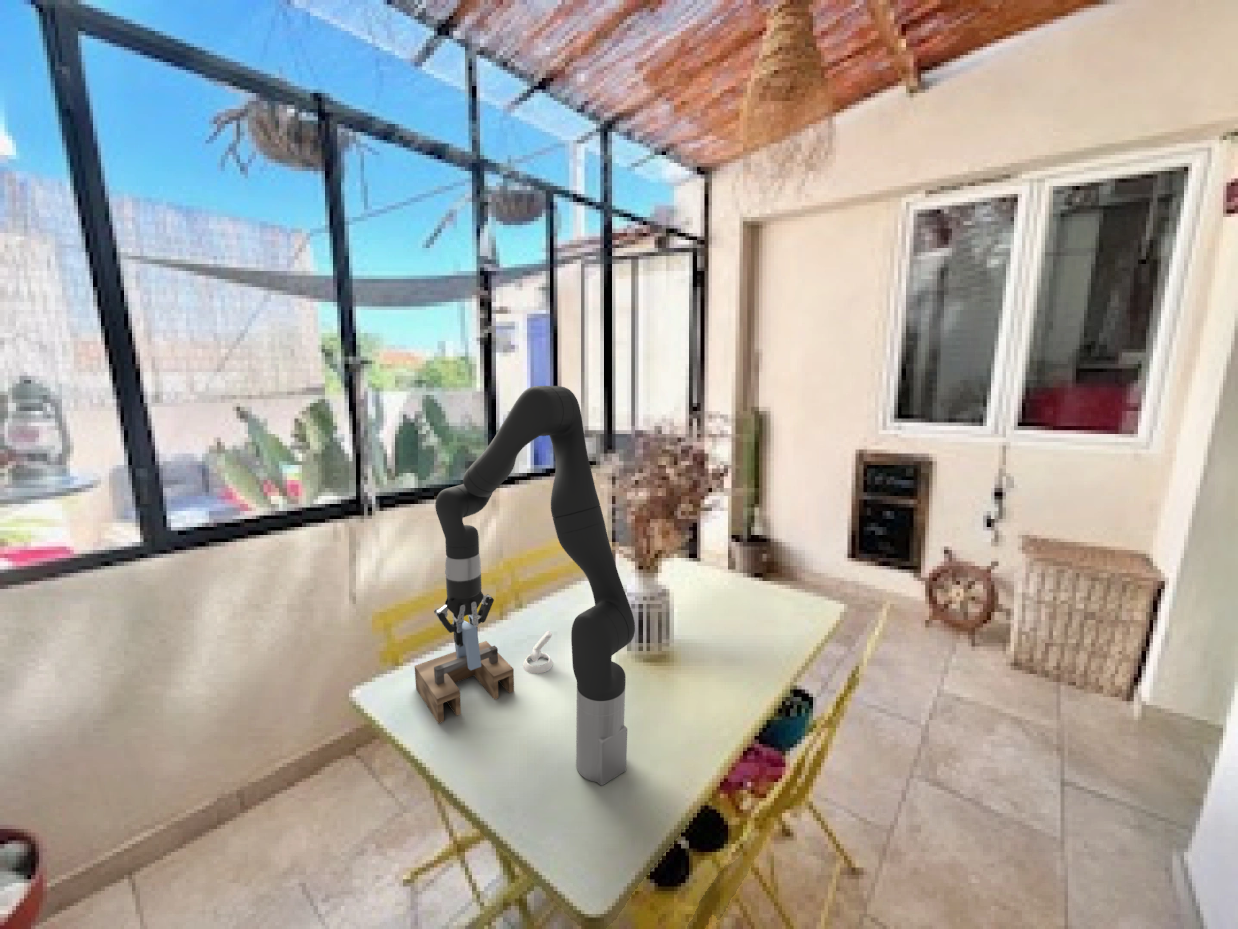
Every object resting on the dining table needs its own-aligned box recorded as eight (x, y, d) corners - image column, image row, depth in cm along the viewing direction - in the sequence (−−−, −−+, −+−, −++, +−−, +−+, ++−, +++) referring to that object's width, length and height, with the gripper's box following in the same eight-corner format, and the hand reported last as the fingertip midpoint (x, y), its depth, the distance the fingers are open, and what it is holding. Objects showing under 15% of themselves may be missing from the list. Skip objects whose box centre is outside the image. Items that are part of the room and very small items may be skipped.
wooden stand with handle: (513, 691, 120) (513, 655, 118) (438, 723, 109) (436, 684, 107) (486, 661, 131) (485, 628, 129) (416, 688, 120) (413, 652, 118)
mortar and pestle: (569, 656, 126) (546, 645, 123) (542, 686, 129) (519, 676, 127) (569, 635, 132) (547, 623, 130) (543, 664, 136) (521, 653, 133)
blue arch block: (481, 666, 113) (476, 627, 113) (470, 670, 112) (466, 630, 111) (467, 656, 120) (462, 619, 120) (456, 660, 118) (452, 622, 118)
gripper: (438, 586, 105) (442, 661, 109) (499, 570, 114) (501, 640, 117) (426, 574, 111) (430, 645, 114) (485, 560, 119) (487, 626, 123)
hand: (466, 642), depth 116 cm, fingers closed on blue arch block, 2 cm apart
